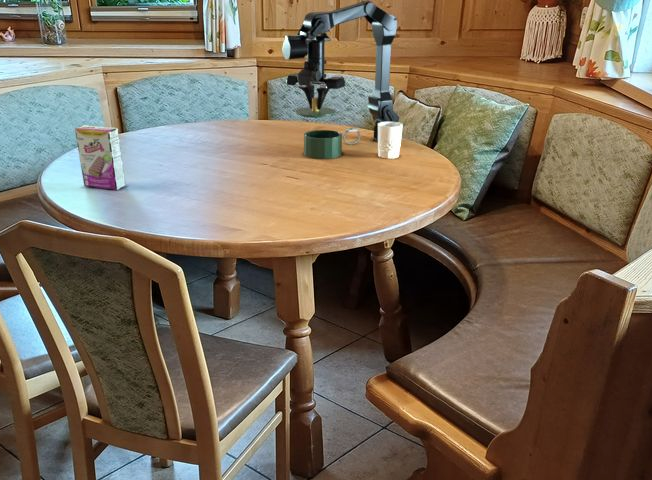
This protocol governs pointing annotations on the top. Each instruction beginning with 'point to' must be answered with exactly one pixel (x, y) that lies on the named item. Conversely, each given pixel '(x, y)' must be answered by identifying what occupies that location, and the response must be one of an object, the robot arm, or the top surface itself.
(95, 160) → the candy bar box
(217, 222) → the top surface
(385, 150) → the white cup
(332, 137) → the tin
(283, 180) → the top surface
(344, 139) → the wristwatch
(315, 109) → the tin lid
